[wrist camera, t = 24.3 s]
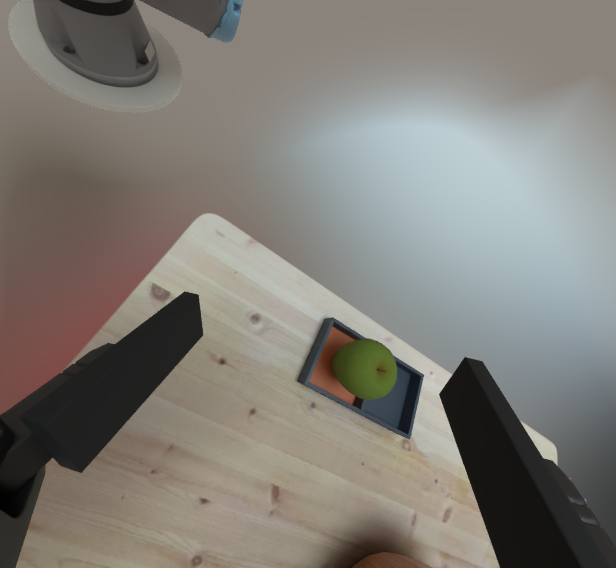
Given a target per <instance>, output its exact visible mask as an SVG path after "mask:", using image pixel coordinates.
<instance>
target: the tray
mask: <svg viewBox="0 0 616 568" xmlns="http://www.w3.org/2000/svg"><path fill="white" fill-rule="evenodd" d="M361 339H366V338H365V337H363V336H361V335H360V334H358V333H357V332H355V331H353V330H352V329H350V328H349V327H347V326H346V325H344V324H342V323H341V322H339V321H338V320H336V319H334V318H333V317H332V318H327V319H325V320H324V322H323V325H322V327H321V329H320V331H319V334H318V336H317V338H316V340H315V343H314V345H313V347H312V349H311V352H310V354H309V356H308V359H307V361H306V363H305V365H304V368H303V370H302V372H301V374H300V377H299V379H298V381H297V382H299V383H301V384H303V385H305V386H307V387H309V388H311V389H313V390H314V391H316V392H318V393H320V394H322V395H324V396H326V397H328V398H330V399H332V400H334V401H336V402H337V403H339V404H341V405H343V406H345V407H347V408H349V409H351V410H353V411H355V412H357V413H359V414H360V415H362V416H364V417H366V418H368V419H370V420H372V421H374V422H376V423H378V424H380V425H382V426H383V427H385V428H387V429H389V430H391V431H393V432H395V433H397V434H399V435H401V436H403V437H405V438H407V439H410V437H411V432H412V428H413V423H414V418H415V414H416V409H417V405H418V400H419V395H420V391H421V386H422V381H423V377H424V375H423V374H422V373H420V372H419V371H417V370H415V369H414V368H412V367H411V366H409V365H407V364H406V363H404V362H403V361H401V360H399V359H398V358H396V357H395V356H394V358H395V360H396V366H397V380H396V383H395V385H394V387H393V388H392V390H391V391H390V392H389V393H388V394H387V395H386V396H384V397H381V398H378V399H374V400H365V399H361V398H358V397H357V396H355V395H353V394H351V393H350V392H348V391H347V390H346V389H345V388H344V387H343V386H342V385H341V383H340V382H339V380H338V379H337V378H336V376H335V374H334V372H333V369H332V361H333V356H334V355H335V353H336V351H338V350H339V349H341V348H342V347H344V346H345V345H346V344H348V343H349V342H352V341H356V340H361Z"/></svg>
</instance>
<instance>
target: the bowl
mask: <svg viewBox="0 0 616 568" xmlns="http://www.w3.org/2000/svg"><path fill="white" fill-rule="evenodd" d="M352 568H431V567H429V566H428V565H426V564H424V563H422V562H420V561H418V560H416V559H413V558H411V557H408V556H405V555H400V554H394V553H389V552H380V553H377V554H373V555H369V556H367V557H365V558H364V559H362V560H361V561H359V562H358V563H357V564H355V565H354V566H353V567H352Z"/></svg>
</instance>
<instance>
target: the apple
mask: <svg viewBox="0 0 616 568" xmlns="http://www.w3.org/2000/svg"><path fill="white" fill-rule="evenodd" d="M332 369H333V372H334V374H335V376H336V378H337V379H338V380H339V382H340V383H341V385H342V386H343V387H344V388H345V389H346V390H347V391H348V392H350V393H351V394H353V395H355V396H357V397H358V398H361V399H365V400H374V399H378V398H381V397H384V396H386V395H387V394H388V393H389V392H390V391H391V390H392V388H393V387H394V385H395V383H396V380H397V366H396V360H395V358H394V356H393V355H392V353H391V351H390V350H389V349H388V348H387V347H385V346H384V345H383V344H381V343H379V342H377V341H375V340H371V339H361V340H356V341H352V342H349V343H348V344H346V345H345V346H344V347H342V348H341V349H339V350H338V351H336V353H335V355H334V356H333V361H332Z"/></svg>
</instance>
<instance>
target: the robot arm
mask: <svg viewBox="0 0 616 568" xmlns="http://www.w3.org/2000/svg"><path fill="white" fill-rule="evenodd" d="M140 1H143V2H144V3H146V4H148V5H150V6H152V7H154V8H156V9H158V10H160V11H162V12H164V13H166V14H168V15H169V16H171V17H174V18H175V19H177V20H179V21H181V22H183V23H185V24H187V25H189V26H191V27H193V28H195V29H197V30H199V31H201V32H203V33H204V34H205V35H206V36H207V37H209V38H210V37H211V38H212V37H213V38H216V39H218V40H220V41H222V42H230V41H232V40H233V38H234V36H235V34H236V31H237V27H238V23H239V18H240V13H241V6H242V2H243V0H140ZM33 3H34V9H35V14H36V20H37V23H38V27H39V30H40V32H41V34H42V36H43V38H44V40H45V42H46V44H47V46H48V47H49V49H50V50H51V52H52V53H53V54H54V56H55V57H56V58H57V59H58V60H59V61H60V62H61V63H63V64H64V65H65V66H66V67H68V68H69V69H71V70H72V71H74V72H75V73H77V74H79V75H81V76H83V77H85V78H87V79H89V80H92V81H94V82H97V83H100V84H104V85H108V86H113V87H137V86H141V85H144V84H146V83H148V82H149V81H151V80H152V79H153V78H154V77H155V75H156V74H157V71H158V59H157V53H156V49H155V46H154V43H153V41H152V38H151V36H150V34H149V32H148V30H147V28H146V25H145V23H144V21H143V19H142V17H141V15H140V12H139V10H138V8H137V6H136V3H135V1H134V0H33ZM202 336H203V328H202V320H201V311H200V303H199V295H198V294H193V293H189V292H183V293H182V294H181V295H179V296H178V297H177V298H175V299H174V300H173V301H171V302H170V303H169V304H168V305H166V306H165V307H164V308H162V309H161V310H160V311H158V312H157V313H156V314H154V315H153V316H152V317H150V318H149V319H148V320H146V321H145V322H144V323H142V324H141V325H140V326H138V327H137V328H136V329H135V330H133V331H132V332H131V333H129V334H128V335H127V336H125V337H124V338H123V339H121V340H120V341H119V342H117V343H116V344H115V345H114V344H110V343H107V344H105V345H103V346H101V347H99V348H97V349H94V350H92V351H90V352H89V353H88V354H86V355H85V356H83V357H82V358H81V359H79V360H78V361H76V363H75V364H72V365H71V366H69V367H68V368H67V369H65V370H64V371H63V373H61V374H58V375H57V376H55V377H54V378H53V379H51V380H50V381H48V382H47V383H46V384H44V385H43V386H41V387H40V388H39V389H37V390H36V391H34V392H33V393H32V394H30V395H29V396H27V397H26V398H25V399H23V400H22V401H21V402H19V403H18V404H16V405H15V406H13V407H12V408H11V409H9V410H8V411H6V412H5V413H3V414H2V415H0V568H15V567H16V564H17V561H18V558H19V555H20V552H21V548H22V545H23V542H24V539H25V536H26V533H27V529H28V526H29V523H30V520H31V517H32V514H33V510H34V507H35V504H36V501H37V498H38V495H39V492H40V488H41V485H42V482H43V479H44V476H45V468H46V466H45V465H46V464H47V463H48V462H49V461H50V460H51V459H52V458H54V459H55V460H56V461H57V462H58V464H59V465H60V466H62V467H65V468H68V469H71V470H74V471H77V472H80V473H82V472H83V471H84V469H85V468H86V467H87V466H88V465H89V464H90V463H91V462H92V460H93V459H94V458H95V457H96V456H97V455H98V454H99V453H100V451H101V450H102V449H103V448H104V447H105V446H106V445H107V443H108V442H109V441H110V440H111V439H112V438H113V437H114V436H115V434H116V433H117V432H118V431H119V430H120V429H121V428H122V426H123V425H124V424H125V423H126V422H127V421H128V420H129V419H130V417H131V416H132V415H133V414H134V413H135V412H136V411H137V409H138V408H139V407H140V406H141V405H142V404H143V403H144V402H145V400H146V399H147V398H148V397H149V396H150V395H151V394H152V392H153V391H154V390H155V389H156V388H157V387H158V386H159V385H160V383H161V382H162V381H163V380H164V379H165V378H166V377H167V375H168V374H169V373H170V372H171V371H172V370H173V369H174V368H175V366H176V365H177V364H178V363H179V362H180V361H181V360H182V358H183V357H184V356H185V355H186V354H187V353H188V352H189V351H190V349H191V348H192V347H193V346H194V345H195V344H196V343H197V342H198V340H199V339H200V338H201V337H202ZM439 396H440V398H441V401H442V404H443V407H444V410H445V413H446V415H447V418H448V421H449V424H450V427H451V430H452V432H453V435H454V438H455V441H456V444H457V447H458V449H459V452H460V455H461V458H462V461H463V464H464V466H465V469H466V472H467V475H468V478H469V481H470V483H471V486H472V489H473V492H474V495H475V498H476V500H477V503H478V506H479V509H480V512H481V515H482V517H483V520H484V523H485V526H486V529H487V532H488V534H489V537H490V540H491V543H492V546H493V549H494V551H495V554H496V557H497V560H498V563H499V566H500V568H616V547H615V545H614V544H613V542H612V541H611V539H610V538H609V536H608V535H607V534H606V532H605V530H604V529H602V528H601V527H600V523H599V521H598V520H597V519H596V517H595V515H594V514H593V512H592V511H591V510H590V509H589V508H588V507H587V506H586V502H585V501H584V499H583V498H582V496H581V495H580V493H579V492H578V490H577V489H576V487H575V486H574V484H573V483H572V481H571V480H570V479H569V478H568V477H567V476H566V475H565V474H564V473H563V472H562V471H561V469H560V468H559V467H558V466H557V465H556V464H555V463H554V462H553V461H551V460H548V459H544V458H543V457H542V456H541V454H540V453H539V451H538V449H537V448H536V446H535V445H534V443H533V441H532V440H531V438H530V437H529V435H528V433H527V432H526V430H525V429H524V427H523V425H522V424H521V422H520V421H519V419H518V418H517V416H516V414H515V413H514V411H513V410H512V408H511V406H510V405H509V403H508V402H507V400H506V398H505V397H504V395H503V394H502V392H501V391H500V389H499V387H498V386H497V384H496V382H495V381H494V379H493V378H492V376H491V375H490V373H489V371H488V370H487V368H486V366H485V365H484V363H483V362H482V361H479V360H474V359H470V358H466V357H465V358H464V359H463V361H462V362H461V364H460V365H459V367H458V368H457V369H456V371H455V372H454V374H453V375H452V377H451V378H450V379H449V381H448V382H447V384H446V385H445V387H444V388H443V390H442V391H441V392H440V394H439Z"/></svg>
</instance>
